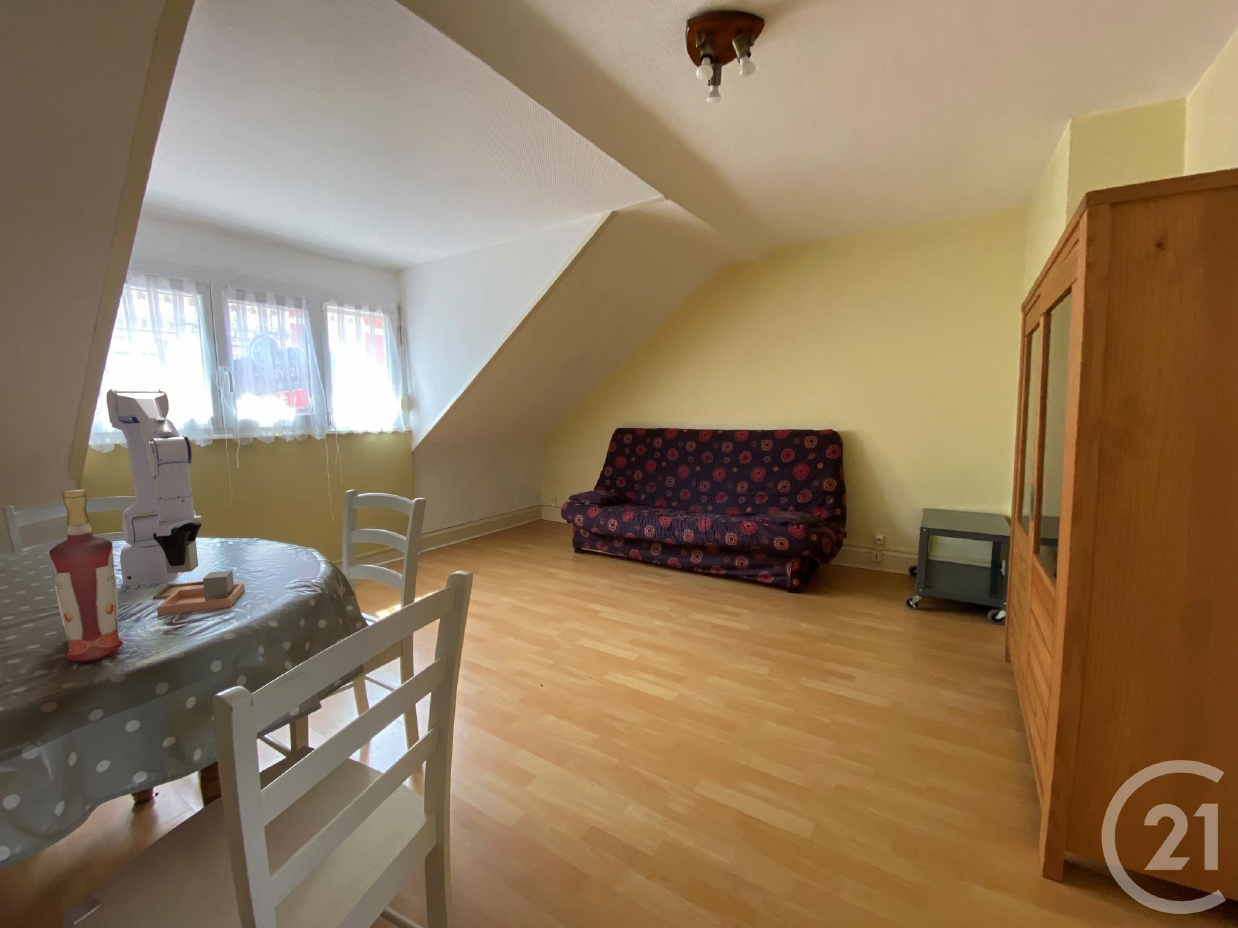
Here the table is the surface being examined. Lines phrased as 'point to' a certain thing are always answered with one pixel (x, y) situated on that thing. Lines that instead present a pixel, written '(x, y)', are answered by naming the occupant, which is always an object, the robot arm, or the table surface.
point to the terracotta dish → (196, 601)
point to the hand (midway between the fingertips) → (181, 562)
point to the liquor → (85, 585)
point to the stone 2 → (218, 585)
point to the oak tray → (173, 587)
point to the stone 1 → (190, 560)
